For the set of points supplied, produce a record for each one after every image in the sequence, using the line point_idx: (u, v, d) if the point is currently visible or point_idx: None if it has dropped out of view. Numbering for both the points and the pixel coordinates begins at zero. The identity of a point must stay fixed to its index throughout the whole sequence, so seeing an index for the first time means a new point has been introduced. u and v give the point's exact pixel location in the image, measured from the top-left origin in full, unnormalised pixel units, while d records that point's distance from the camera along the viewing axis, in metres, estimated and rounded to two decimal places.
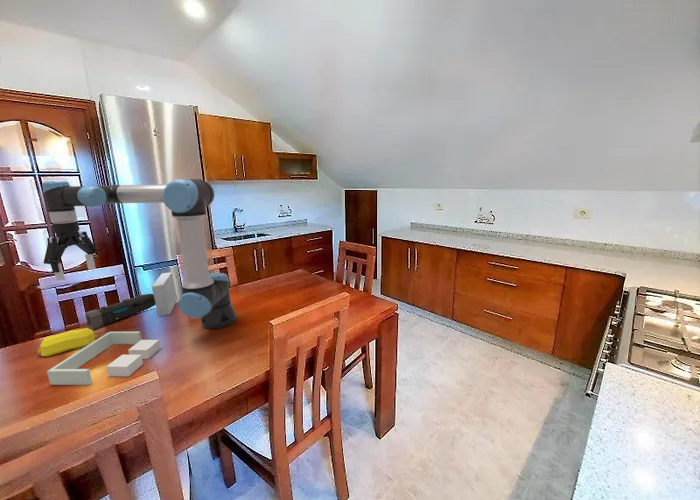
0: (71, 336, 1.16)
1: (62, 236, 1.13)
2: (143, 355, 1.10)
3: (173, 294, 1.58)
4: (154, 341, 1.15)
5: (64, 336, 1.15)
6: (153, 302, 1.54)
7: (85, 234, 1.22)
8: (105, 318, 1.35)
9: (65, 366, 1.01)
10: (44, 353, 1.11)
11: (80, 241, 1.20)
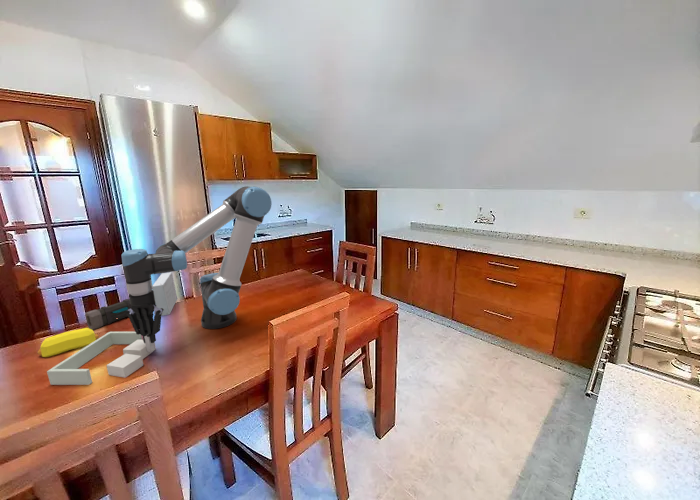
0: (72, 336, 1.16)
1: (132, 306, 1.08)
2: None
3: (173, 294, 1.58)
4: None
5: (65, 336, 1.15)
6: None
7: (156, 313, 1.09)
8: (105, 318, 1.35)
9: (65, 366, 1.01)
10: (45, 353, 1.11)
11: (145, 316, 1.08)
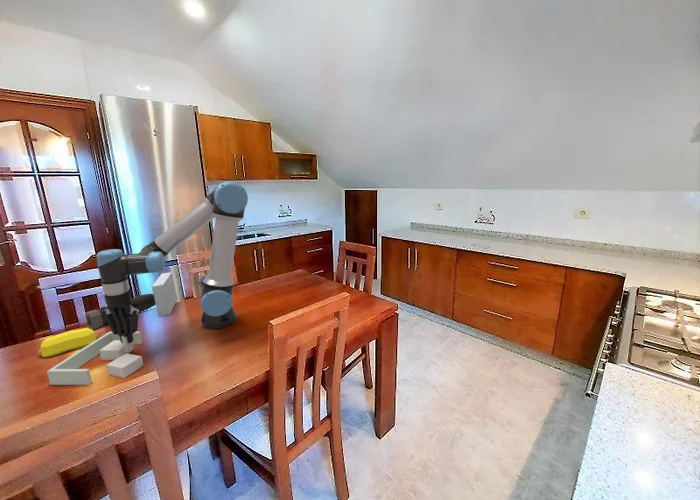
0: (72, 336, 1.16)
1: (108, 306, 1.08)
2: (115, 355, 1.10)
3: (173, 294, 1.58)
4: None
5: (65, 336, 1.15)
6: (153, 302, 1.54)
7: (133, 313, 1.09)
8: (105, 318, 1.35)
9: (65, 366, 1.01)
10: (45, 353, 1.11)
11: (121, 316, 1.08)
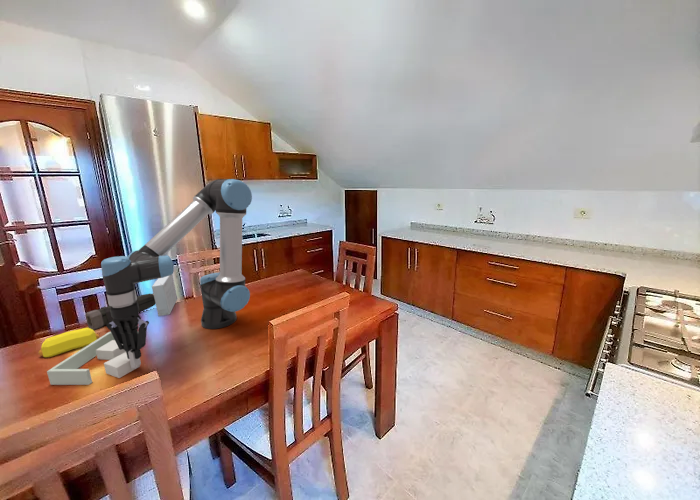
0: (73, 336, 1.16)
1: (114, 319, 0.98)
2: (109, 356, 1.10)
3: (173, 294, 1.58)
4: None
5: (66, 336, 1.15)
6: (153, 302, 1.54)
7: (141, 327, 0.99)
8: (105, 318, 1.35)
9: (65, 366, 1.01)
10: (47, 354, 1.11)
11: (128, 330, 0.99)
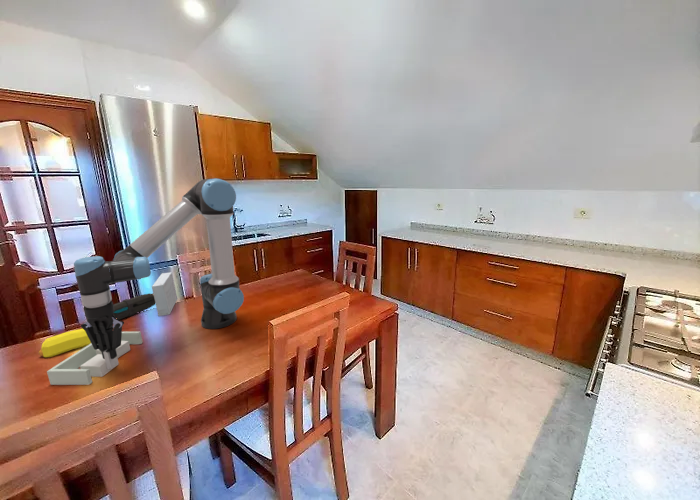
0: (74, 336, 1.16)
1: (88, 319, 0.98)
2: None
3: (173, 294, 1.58)
4: (123, 342, 1.15)
5: (66, 336, 1.15)
6: (153, 302, 1.54)
7: (115, 327, 0.99)
8: None
9: (65, 366, 1.01)
10: (47, 354, 1.11)
11: (103, 330, 0.99)
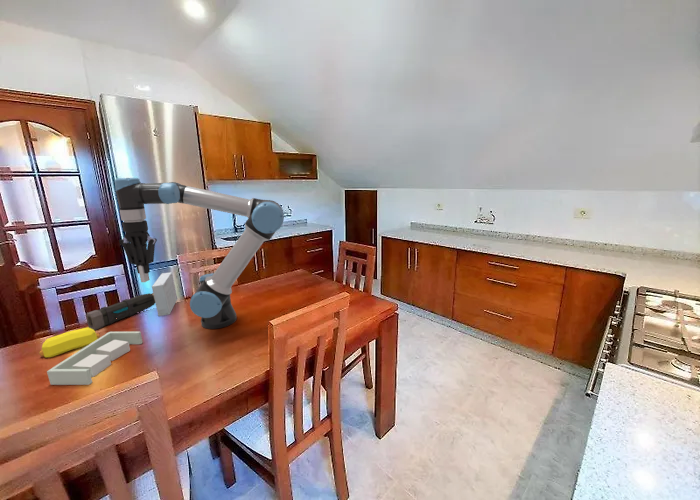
0: (74, 336, 1.16)
1: (126, 234, 1.10)
2: None
3: (173, 294, 1.58)
4: (123, 343, 1.14)
5: (67, 336, 1.15)
6: (152, 302, 1.54)
7: (149, 242, 1.11)
8: (106, 318, 1.35)
9: (65, 366, 1.01)
10: (48, 354, 1.11)
11: (138, 245, 1.10)
